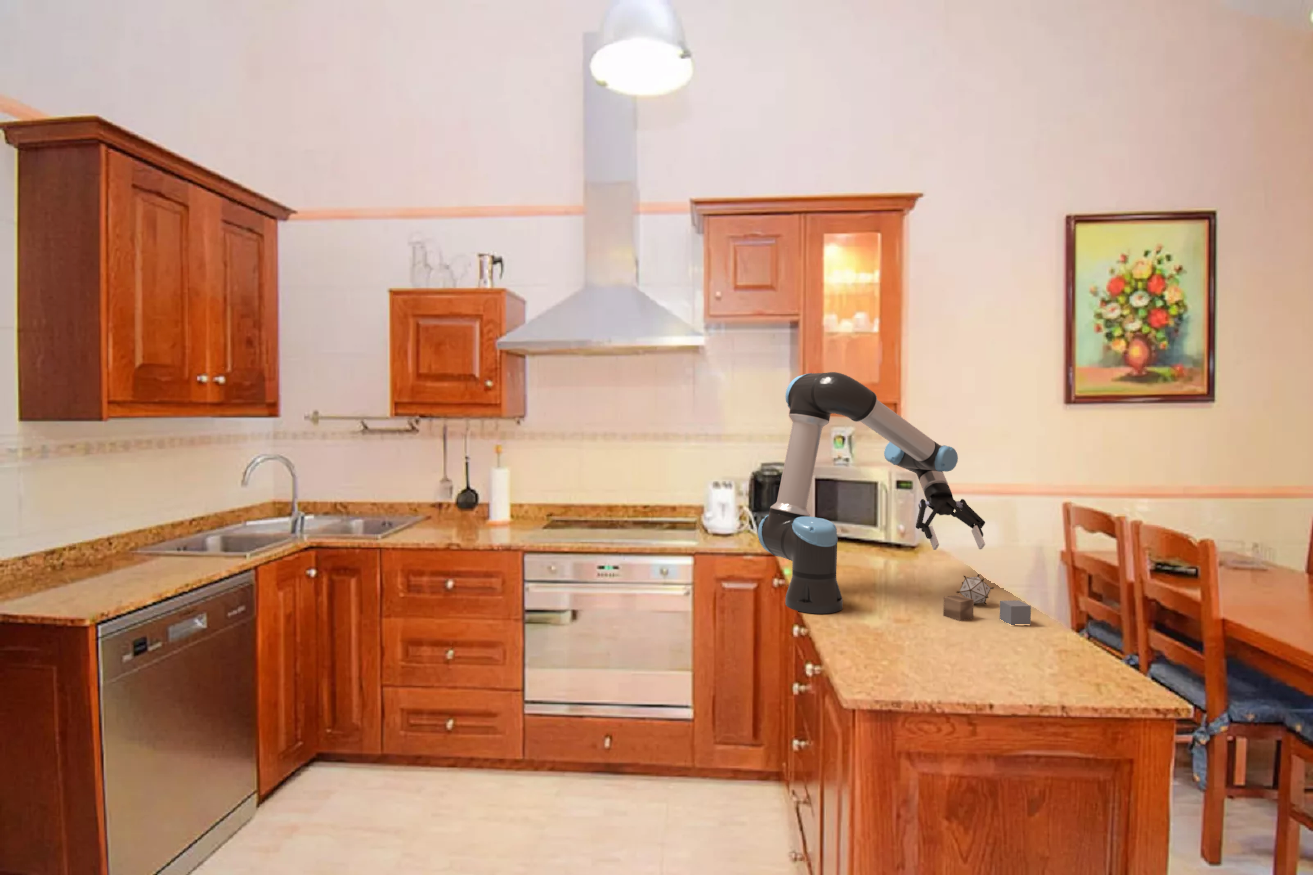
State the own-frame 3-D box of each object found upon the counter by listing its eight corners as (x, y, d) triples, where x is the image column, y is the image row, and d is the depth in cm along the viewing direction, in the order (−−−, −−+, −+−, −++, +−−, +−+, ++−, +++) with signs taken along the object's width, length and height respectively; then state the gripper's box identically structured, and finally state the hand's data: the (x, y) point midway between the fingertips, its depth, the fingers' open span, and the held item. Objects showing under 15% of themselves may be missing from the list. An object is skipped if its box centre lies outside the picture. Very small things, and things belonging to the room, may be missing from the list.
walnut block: (960, 621, 171) (960, 602, 171) (943, 616, 176) (943, 597, 175) (973, 618, 174) (973, 599, 173) (956, 613, 178) (956, 594, 178)
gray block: (1010, 626, 168) (1011, 606, 167) (999, 620, 173) (1000, 600, 172) (1030, 626, 168) (1030, 606, 168) (1018, 619, 173) (1019, 600, 173)
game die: (981, 619, 185) (1000, 596, 179) (950, 606, 186) (968, 583, 180) (981, 596, 192) (999, 573, 186) (951, 584, 193) (968, 561, 187)
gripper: (970, 496, 213) (996, 553, 199) (892, 496, 212) (912, 554, 197) (980, 481, 208) (1006, 539, 193) (900, 481, 206) (921, 540, 192)
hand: (959, 547), depth 195 cm, fingers open, 13 cm apart
